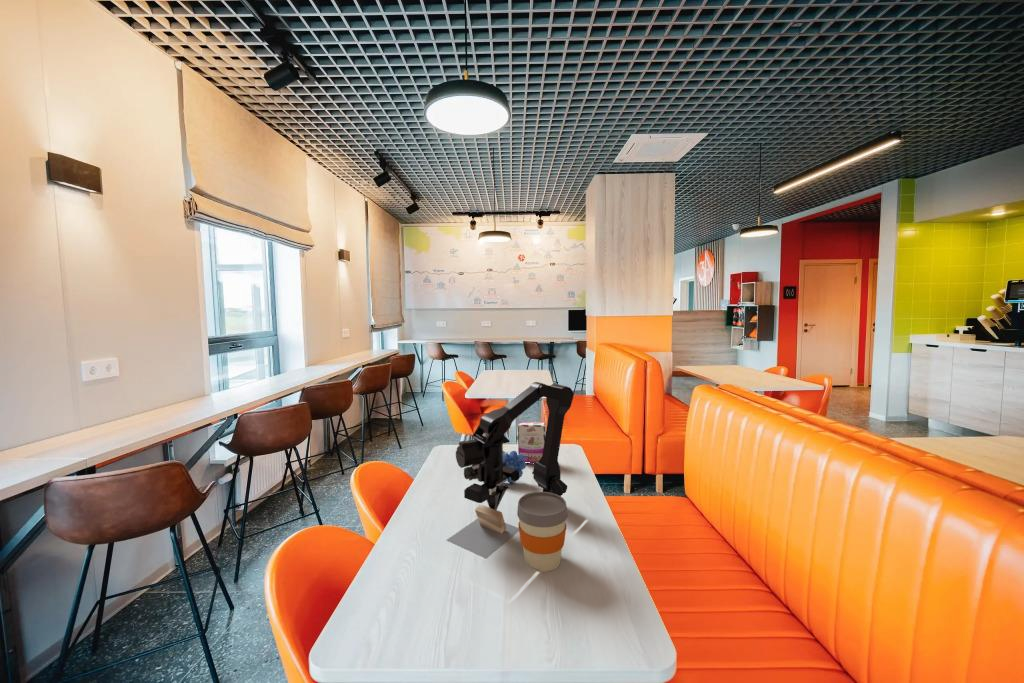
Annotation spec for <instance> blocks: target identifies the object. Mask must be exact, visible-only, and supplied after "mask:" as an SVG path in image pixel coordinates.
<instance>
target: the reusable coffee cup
mask: <svg viewBox="0 0 1024 683" xmlns="http://www.w3.org/2000/svg"><path fill="white" fill-rule="evenodd" d="M516 511H517V513H516V516H517V517H518V520H519V521H518V526H517V527H518V528H519V531H518V533H519V540H520V544H521V546H522V550H523V556H524V561H525V563H526V564H527V565H528V566H529V567H531V568H533V569H536V571H537V572H551V571H553V570H555V569H557V568H558V567H559V566H560V563H561V557H562V550H563V547H564V546H565V538H566V534H567V533H566V531H567V523H566V521H567V519H568V508H567V502H566V500H565V499H564V497H562V495H561V496H559V495H557V494H554V493H549V492H543V491H533V492H528V493H526V494H524V495H523V496H521V497H520V498H519V499H518V502H517V510H516Z"/></svg>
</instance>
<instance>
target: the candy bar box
mask: <svg viewBox="0 0 1024 683" xmlns="http://www.w3.org/2000/svg"><path fill="white" fill-rule="evenodd" d="M546 429H547V422H543V421H541V422H539V421H538V422H537V421H535V422H534V421H519V422H518V424H517V440H518V441H517V442H518V443H517V447H518V448H517V449H518V451H517V455H518V454H522V455H523V456H524V459H523V461H524V462H530V463H534V462H535V461H537V462H538V461H539V460H540V459H541V457H542V454H543V448H544V441H545V435H546Z"/></svg>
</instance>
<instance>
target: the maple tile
mask: <svg viewBox="0 0 1024 683" xmlns="http://www.w3.org/2000/svg"><path fill="white" fill-rule="evenodd" d="M478 504H479V505H478V506H477V507H476V508H474V511H475V513H476V517H477V519H478V520H479V523H480V525H481V526H484V527H486V528H489V529H491V530H494V531H496V532H498V533H501V534H503V532H504V531H505V529H506V524H505V523H506V522H505V518H504V515H503V512H502V511H500V510H498V509H497V510H494V509H492V508H490V507H489V506H487V505H484V504H481V503H478Z"/></svg>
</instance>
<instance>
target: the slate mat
mask: <svg viewBox="0 0 1024 683" xmlns="http://www.w3.org/2000/svg"><path fill="white" fill-rule="evenodd" d="M505 524H506V529H505V531H504V532H503V534H501V533H498V532H496V531H494V530H491V529H489V528H486V527H484V526H481V525H480V523H479V520H478V518H476V519H474V520H473V521H472V522H470V523H469V524H468V525H466V526H465V527H463V528H462V529H460V530H459V531H457V532H456V533H455V534H453V535H452V536H450V537H449V538H447V539H446V541H447V542H449V543H452V545H453V544H454V545H456V546H458V547H460V548H462V549H464V550H466V551H469V552H471V553H473V554H475V555H478V556H479V557H482V558H484V559H487V558H489V557H490V556H491V555H492V554H493V553H494V552H495V553H496V551H497V550H498V549H499V548H500V547H502V546H503V545H505V543H507V542H508V541H509V540H511V539H512V538H513V536H515V535H516V534H517V533H519V526H515V525H512V524H509V523H507V522H505Z"/></svg>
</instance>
